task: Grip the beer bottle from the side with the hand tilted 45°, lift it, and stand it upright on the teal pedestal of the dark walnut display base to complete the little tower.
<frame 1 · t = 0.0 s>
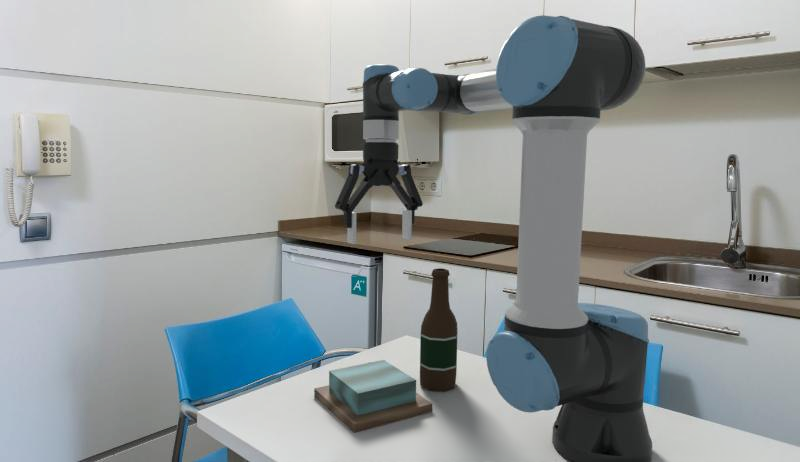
hand: (380, 241, 123), 28 cm above the table, tool pointing down, fingers open, 13 cm apart
beer bottle: (438, 385, 116), on the table
display base: (371, 403, 107), on the table
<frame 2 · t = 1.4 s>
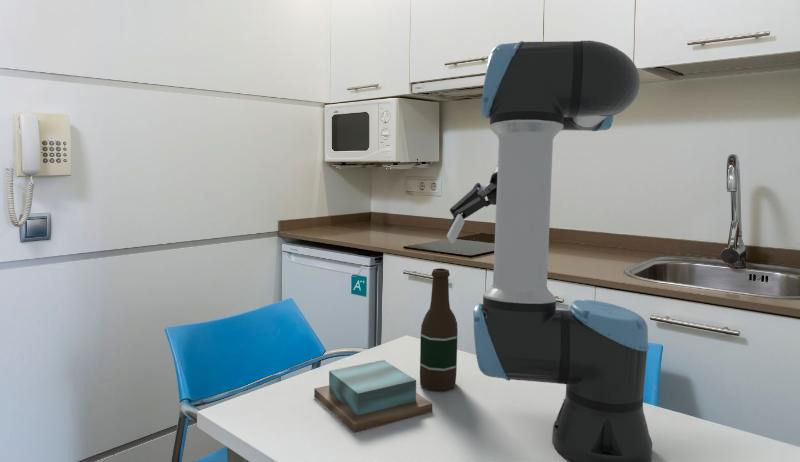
hand: (476, 243, 124), 28 cm above the table, tool tilted 45°, fingers open, 13 cm apart
nothing on the table moved.
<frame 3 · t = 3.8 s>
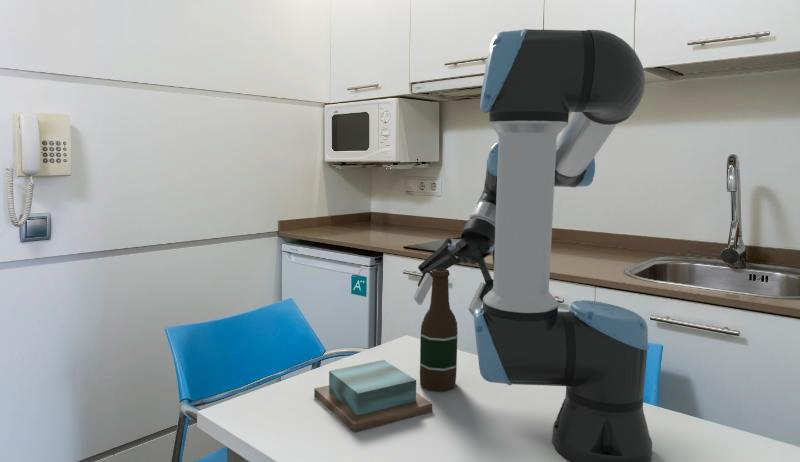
hand: (443, 307, 116), 16 cm above the table, tool tilted 45°, fingers open, 13 cm apart
nothing on the table moved.
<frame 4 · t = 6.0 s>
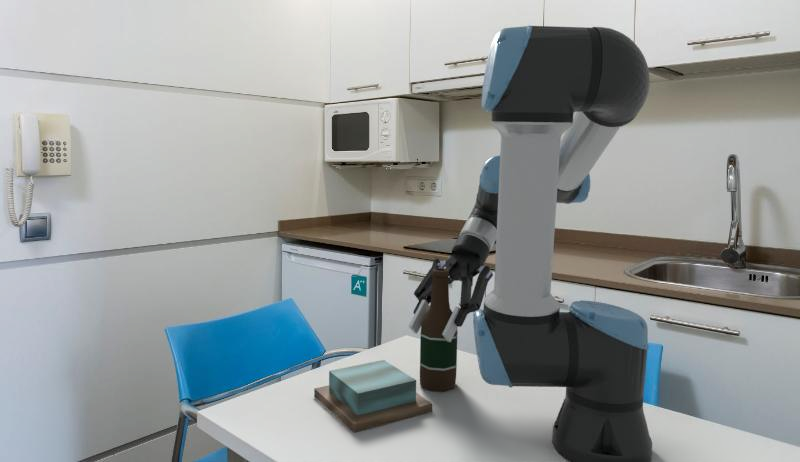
hand: (429, 333, 112), 12 cm above the table, tool tilted 45°, fingers closed on beer bottle, 7 cm apart
beer bottle: (437, 385, 116), on the table, touching gripper
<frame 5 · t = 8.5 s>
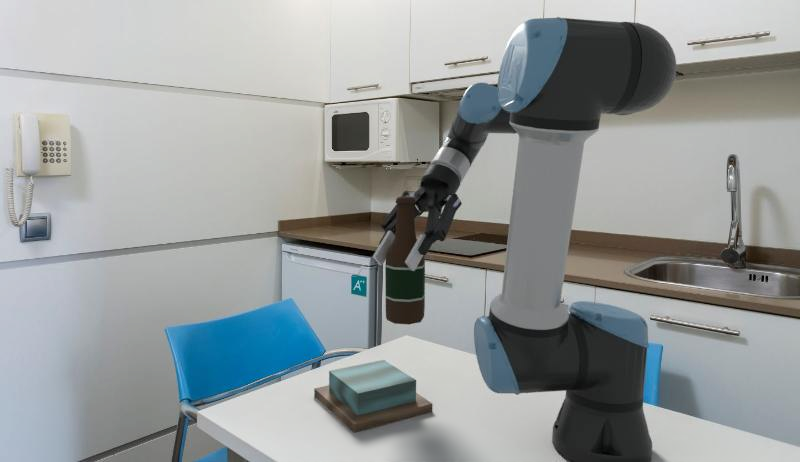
hand: (393, 263, 107), 26 cm above the table, tool tilted 45°, fingers closed on beer bottle, 7 cm apart
beer bottle: (405, 320, 111), point 14 cm above the table, touching gripper
when the fingers open (19 cm above the table, at t = 11.3 s): beer bottle drops 1 cm, resting on display base.
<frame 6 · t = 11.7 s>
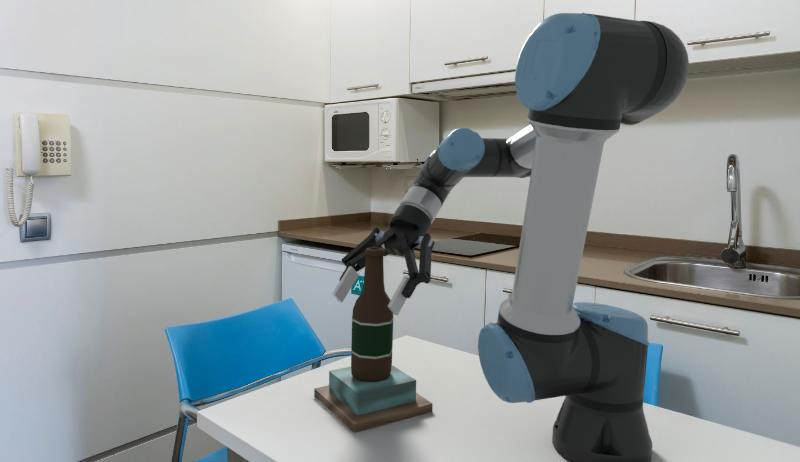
hand: (363, 304, 103), 20 cm above the table, tool tilted 45°, fingers open, 13 cm apart
beer bottle: (371, 375, 107), point 5 cm above the table, touching display base
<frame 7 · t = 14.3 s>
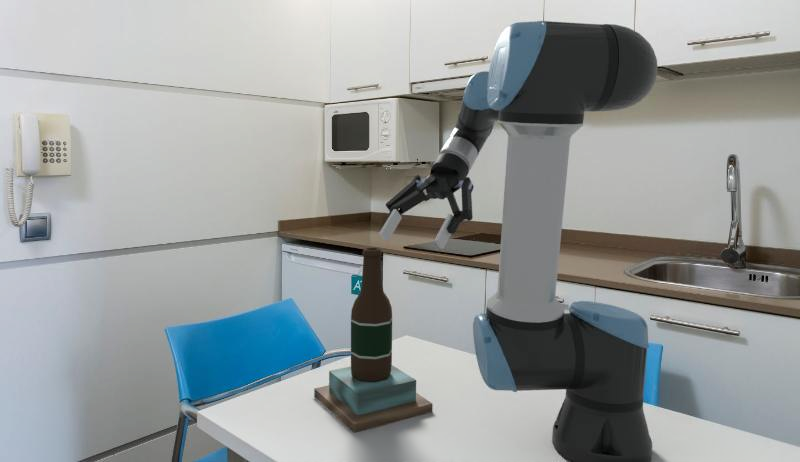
hand: (410, 241, 111), 30 cm above the table, tool tilted 45°, fingers open, 13 cm apart
nothing on the table moved.
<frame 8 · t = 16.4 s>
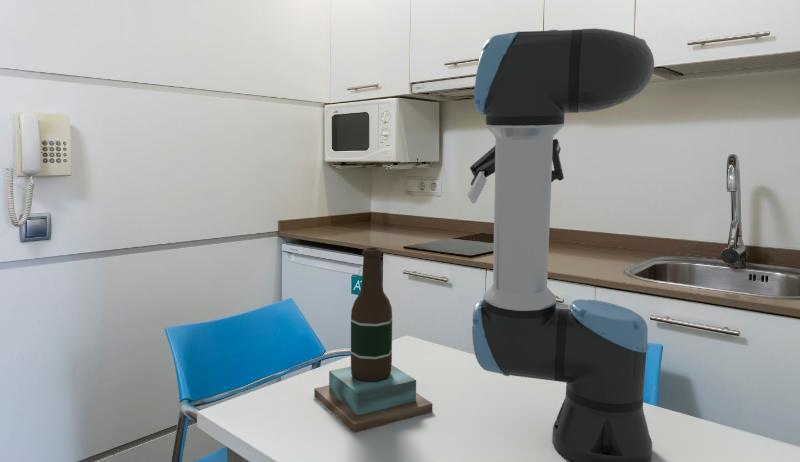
hand: (500, 201, 113), 38 cm above the table, tool tilted 45°, fingers open, 13 cm apart
nothing on the table moved.
at the end: beer bottle inside the target area on the display base (0.2 cm from its centre), point 5.3 cm above the display base's base; beer bottle tilted 0°; the gripper is holding nothing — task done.
